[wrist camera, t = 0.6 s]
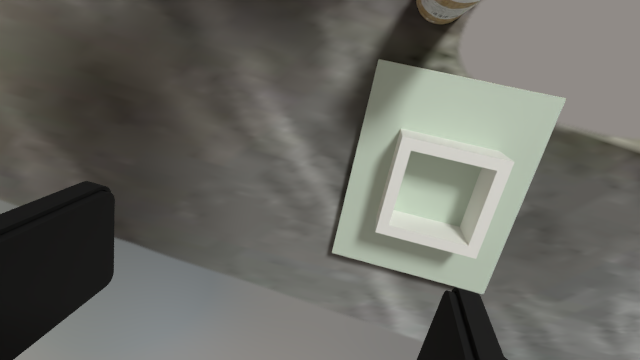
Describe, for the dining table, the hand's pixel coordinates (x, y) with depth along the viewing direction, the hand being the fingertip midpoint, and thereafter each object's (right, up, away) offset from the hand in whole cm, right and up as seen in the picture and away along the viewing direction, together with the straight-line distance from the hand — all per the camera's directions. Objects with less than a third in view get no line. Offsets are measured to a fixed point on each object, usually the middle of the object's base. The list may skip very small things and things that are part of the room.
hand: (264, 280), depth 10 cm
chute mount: (+13, +3, +26) cm, 29 cm away
